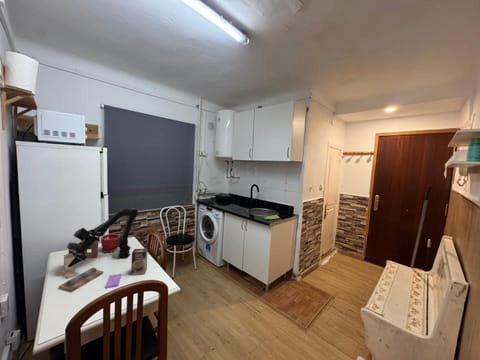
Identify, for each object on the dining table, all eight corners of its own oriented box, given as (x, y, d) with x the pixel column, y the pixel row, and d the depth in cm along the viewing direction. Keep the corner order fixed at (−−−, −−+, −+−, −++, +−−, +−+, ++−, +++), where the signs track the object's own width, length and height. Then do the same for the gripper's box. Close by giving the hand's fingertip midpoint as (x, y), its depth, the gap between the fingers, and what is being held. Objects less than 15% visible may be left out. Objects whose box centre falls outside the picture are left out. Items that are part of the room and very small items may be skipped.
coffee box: (130, 275, 130) (131, 252, 128) (133, 270, 136) (133, 248, 134) (145, 274, 132) (146, 252, 131) (147, 269, 138) (147, 247, 137)
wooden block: (96, 257, 149) (96, 235, 147) (79, 259, 145) (79, 236, 143) (98, 255, 152) (98, 233, 151) (81, 257, 148) (82, 234, 147)
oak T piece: (62, 271, 129) (62, 253, 128) (70, 269, 132) (70, 251, 131) (67, 278, 122) (67, 259, 121) (75, 276, 125) (75, 257, 124)
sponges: (121, 275, 129) (121, 273, 129) (118, 287, 118) (118, 284, 118) (109, 277, 126) (109, 275, 126) (104, 289, 115) (104, 286, 115)
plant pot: (108, 254, 154) (108, 240, 153) (97, 251, 159) (97, 237, 158) (123, 248, 166) (123, 235, 165) (112, 245, 171) (112, 232, 170)
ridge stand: (91, 270, 132) (91, 265, 131) (103, 273, 130) (103, 267, 129) (58, 288, 112) (58, 282, 112) (72, 292, 110) (72, 285, 110)
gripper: (72, 234, 134) (50, 254, 126) (81, 241, 123) (57, 264, 115) (86, 241, 141) (66, 261, 133) (95, 249, 130) (74, 271, 122)
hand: (66, 264), depth 125 cm, fingers open, 9 cm apart
